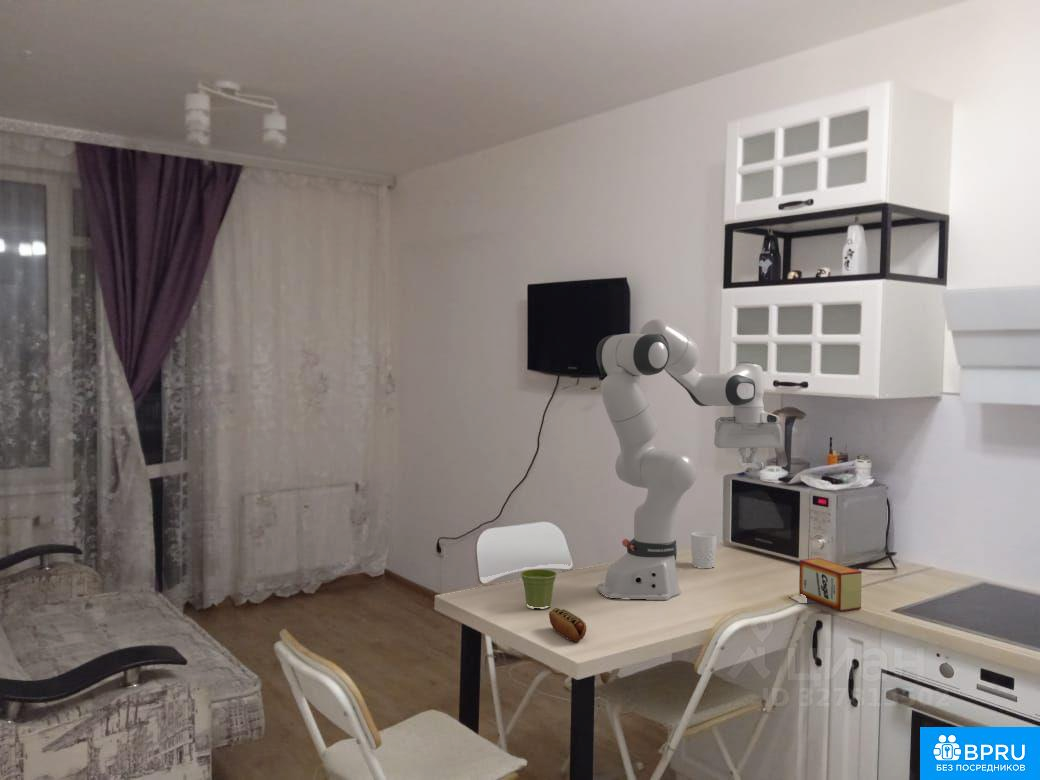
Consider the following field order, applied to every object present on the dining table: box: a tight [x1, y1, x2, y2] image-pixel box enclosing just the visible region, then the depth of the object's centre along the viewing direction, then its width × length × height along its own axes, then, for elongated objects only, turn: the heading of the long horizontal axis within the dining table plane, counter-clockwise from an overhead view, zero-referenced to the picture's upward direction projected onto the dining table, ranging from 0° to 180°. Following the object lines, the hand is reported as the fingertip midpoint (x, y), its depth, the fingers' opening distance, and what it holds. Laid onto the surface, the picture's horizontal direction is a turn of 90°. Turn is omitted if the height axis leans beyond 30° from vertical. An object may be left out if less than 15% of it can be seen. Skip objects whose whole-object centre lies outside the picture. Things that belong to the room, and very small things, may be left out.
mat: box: [806, 598, 820, 605], centre depth 221 cm, size 12×7×1 cm, turn 99°
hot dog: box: [548, 607, 587, 642], centre depth 191 cm, size 5×13×5 cm, turn 23°
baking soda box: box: [798, 557, 862, 612], centre depth 218 cm, size 10×6×16 cm
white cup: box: [690, 531, 718, 569], centre depth 257 cm, size 8×8×10 cm
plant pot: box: [520, 568, 558, 607], centre depth 213 cm, size 9×9×9 cm
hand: (747, 462), depth 248 cm, fingers closed
